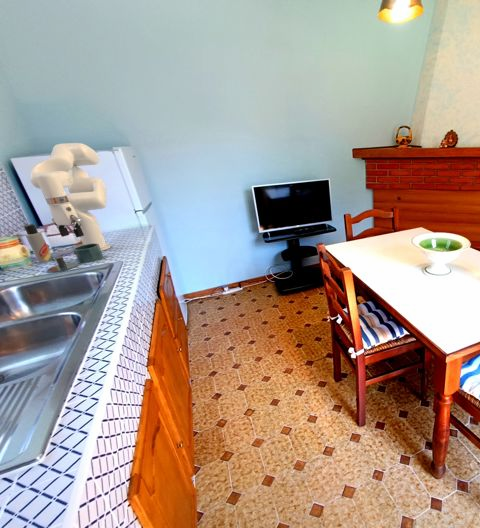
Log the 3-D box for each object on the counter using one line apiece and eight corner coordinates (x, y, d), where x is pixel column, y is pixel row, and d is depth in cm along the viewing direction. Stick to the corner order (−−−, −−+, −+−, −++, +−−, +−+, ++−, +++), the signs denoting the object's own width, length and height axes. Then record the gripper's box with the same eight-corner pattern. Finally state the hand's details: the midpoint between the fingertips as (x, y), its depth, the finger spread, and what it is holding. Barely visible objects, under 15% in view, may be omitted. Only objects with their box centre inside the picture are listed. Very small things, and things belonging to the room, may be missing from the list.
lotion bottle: (56, 260, 155) (39, 223, 147) (42, 265, 150) (23, 226, 142) (51, 259, 157) (33, 222, 149) (37, 263, 152) (18, 225, 144)
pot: (75, 262, 151) (69, 248, 148) (98, 255, 159) (92, 242, 156) (84, 265, 146) (78, 251, 144) (107, 258, 155) (102, 244, 152)
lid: (43, 271, 142) (38, 260, 139) (72, 263, 151) (67, 252, 148) (54, 275, 136) (48, 263, 134) (83, 266, 145) (78, 255, 143)
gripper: (80, 199, 139) (94, 234, 146) (53, 199, 144) (68, 233, 150) (62, 202, 132) (77, 239, 139) (35, 202, 137) (51, 237, 144)
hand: (72, 236), depth 145 cm, fingers open, 9 cm apart
